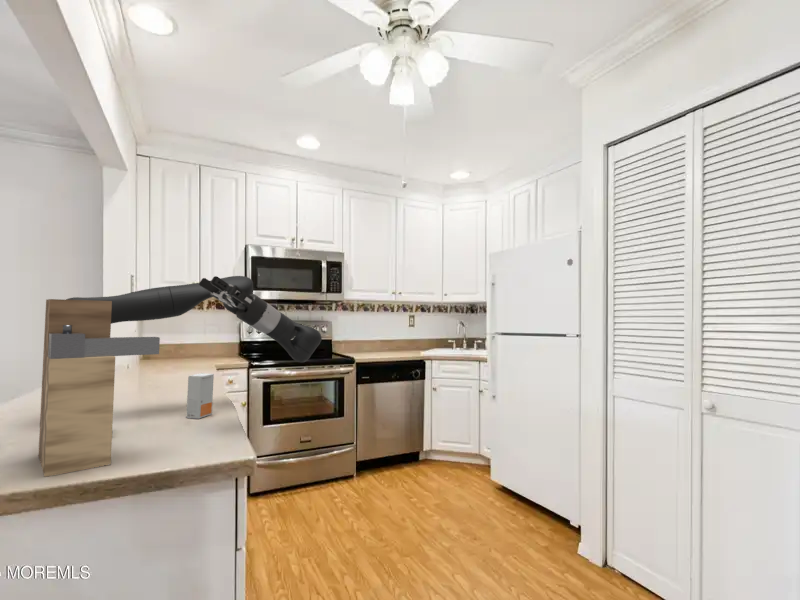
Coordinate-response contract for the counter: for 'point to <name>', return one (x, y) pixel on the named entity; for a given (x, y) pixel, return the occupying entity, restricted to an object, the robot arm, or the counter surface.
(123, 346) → the dark grey bar piece
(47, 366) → the upright wood plank
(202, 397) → the skincare box
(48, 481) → the counter surface
